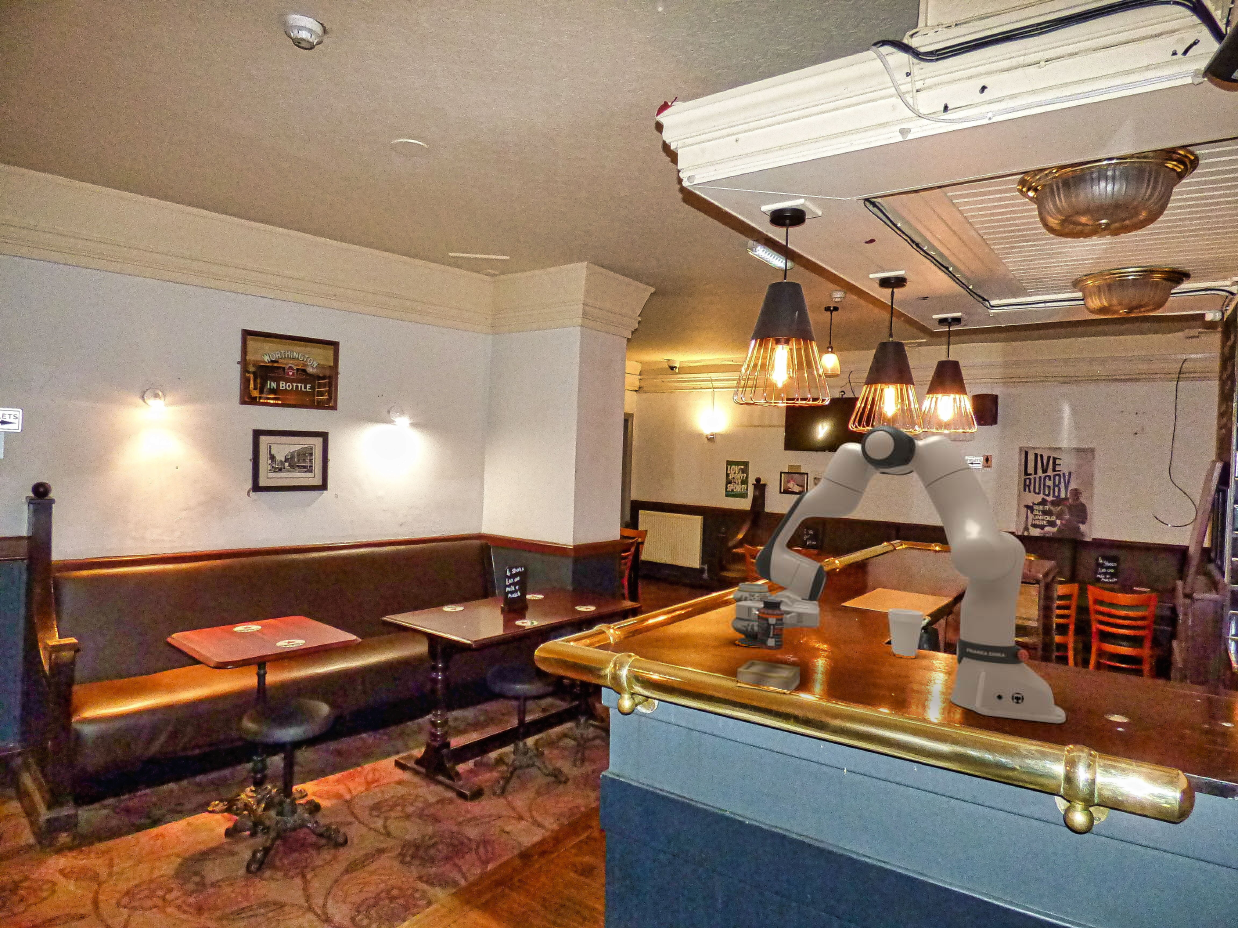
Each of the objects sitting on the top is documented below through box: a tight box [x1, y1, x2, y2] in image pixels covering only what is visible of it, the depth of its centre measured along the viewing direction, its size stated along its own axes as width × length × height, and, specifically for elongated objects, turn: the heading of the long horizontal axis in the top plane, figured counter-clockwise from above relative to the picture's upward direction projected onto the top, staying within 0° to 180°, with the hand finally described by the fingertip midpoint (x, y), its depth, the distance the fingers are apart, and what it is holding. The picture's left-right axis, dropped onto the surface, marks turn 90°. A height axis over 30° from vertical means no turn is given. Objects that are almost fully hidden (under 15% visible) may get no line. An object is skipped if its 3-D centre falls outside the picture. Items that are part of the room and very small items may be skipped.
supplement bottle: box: [757, 599, 784, 651], centre depth 173 cm, size 6×6×11 cm
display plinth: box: [736, 659, 801, 692], centre depth 173 cm, size 12×12×4 cm
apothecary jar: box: [731, 582, 773, 646], centre depth 219 cm, size 12×12×18 cm
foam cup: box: [887, 608, 924, 656], centre depth 213 cm, size 10×9×13 cm
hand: (770, 617), depth 172 cm, fingers closed on supplement bottle, 6 cm apart
